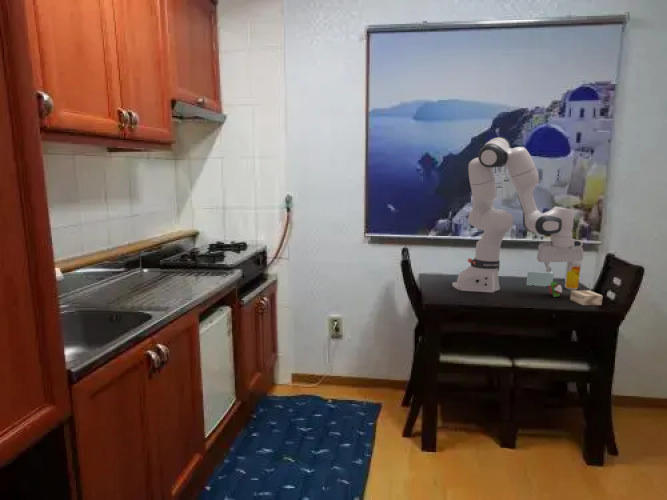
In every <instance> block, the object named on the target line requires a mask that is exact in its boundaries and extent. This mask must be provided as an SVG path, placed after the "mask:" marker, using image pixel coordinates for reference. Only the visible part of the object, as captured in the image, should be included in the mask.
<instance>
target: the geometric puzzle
mask: <svg viewBox="0 0 667 500" xmlns="http://www.w3.org/2000/svg"><path fill="white" fill-rule="evenodd" d="M550 283H551V286H550V284H549V286H548V287H547V288H548V289H549V290H548V289H546V292H548V293H549V295H550V296H553V298H554V297H557V298H558V297H561V294H563V290H564V286H563V285H561V283H558V281H553V282H550Z"/></svg>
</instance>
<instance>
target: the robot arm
mask: <svg viewBox="0 0 667 500" xmlns="http://www.w3.org/2000/svg"><path fill="white" fill-rule="evenodd" d="M504 166H505V168H506V169H507V171H508V174H509V175H510V178H511V181H512V184H513V186H514V188H515V190H516V195H517V198H518V201H519V204H520V208H521V211H522V226H523V227H524V229H525V231H527V232H530V233H532V234H533V233H534V234H538V235H540V236H548V235H550V241H541V242H540V243H539V244H538V247H537V255H536V260H537V261H538V262H540V263H543V264H544V266H545V269H546V270H545V272H546V271H547V272H551V271H552V267H550V266H549V265H550V263H567V262H569V263H570V264H569V266H568V267H567V266H566V268H565V270H566V271H571V268H572V267H573V265H574V262H581V263H582V261H583V259H584V248H583V245H584V244H583V243H584V242H583V241H581V240H579V239H576V238H573V233H572V232H573V228H574V219H575V218H574V217H575V216H574V211H573V209H572V208H571V207H567V206H561V205H555V206H554V207H552V208H551V209H550V210H548V211H545V212H541V211H540V210H539V209H538V207H537V204H536V201H535V198H534V194H533V193H534V192H533V191H534V189H535V188H536V187H537V185H538V183H539V181H540V179H539V178H540V177H539V172H538V169H537V167H536V164H535V162H534V160H533V158H532V155H531V154H530V153H529V151H528V150H527V148H525V147H523V146H516V147H513V148H512V145H511V143H510V141H509V140H508V139H507V138H506V137H504V136H496V137H493V138H491V139H490V140H488V141H487V142H486V143H485V144H484V145H483V146H482V147H481V148H480V150H479V151H478V157H475V158H473V159H472V160H470V161H469V162H468V179H469V183H470V184H469V185H470V189H471V194H472V195H471V196H472V209H471V210H470V211H469V213H468V217H467V218H468V223H469V224H470V225H471V227H473V228H476V229H477V230H483V234H482V236H481V238H480V239H479V240H477V242H476V244H475V256H474V258H473V259H472V258H468V259H467V263H469V264H470V265H469V266H468V267H467V268H465V269H463V270H461V272H459V274H458V276H457V279H456V281H453V282H452V287H453V288H454V289H456V290H458V291H463V292H480V293H495V292H497V291H499V290H501V287H500V283H499V272H500V267H501V266H500V262H501V261H500V253H501V245H502V242H503V239H504V237H505V235H506V234H507V233H508V232H509V231H511V230H512V228H513V225H514V216H513V215H512V213H510V212H508V211H506V210H504V209H500V208H499V209H498V208H494V200H495V199H496V198H497V196H498V189H497V186H496V185H497V184H496V181H495V174H494V168H503V167H504ZM566 271H565V272H566Z"/></svg>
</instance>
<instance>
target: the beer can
mask: <svg viewBox="0 0 667 500" xmlns="http://www.w3.org/2000/svg"><path fill="white" fill-rule="evenodd" d="M569 264H570V263H569V262H566V267H568V266H569ZM581 266H582V261H581V262H574V265H573V267H572V268H571V271H565V279H564V287H565V288H564V289H566V290H570V291H571V290H577V289H579V284H580V283H579V282H580V276H581V275H580V274H581Z"/></svg>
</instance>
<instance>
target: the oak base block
mask: <svg viewBox="0 0 667 500" xmlns="http://www.w3.org/2000/svg"><path fill="white" fill-rule="evenodd" d="M603 297H604V296H603V295H602V294H600V293H597V292H595V291H592V290H590V289H589V290H583V289H582V290H570V298H569V300H570V301H572V302H575V303H577V304H579V305H581V306H602V303H603Z"/></svg>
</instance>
